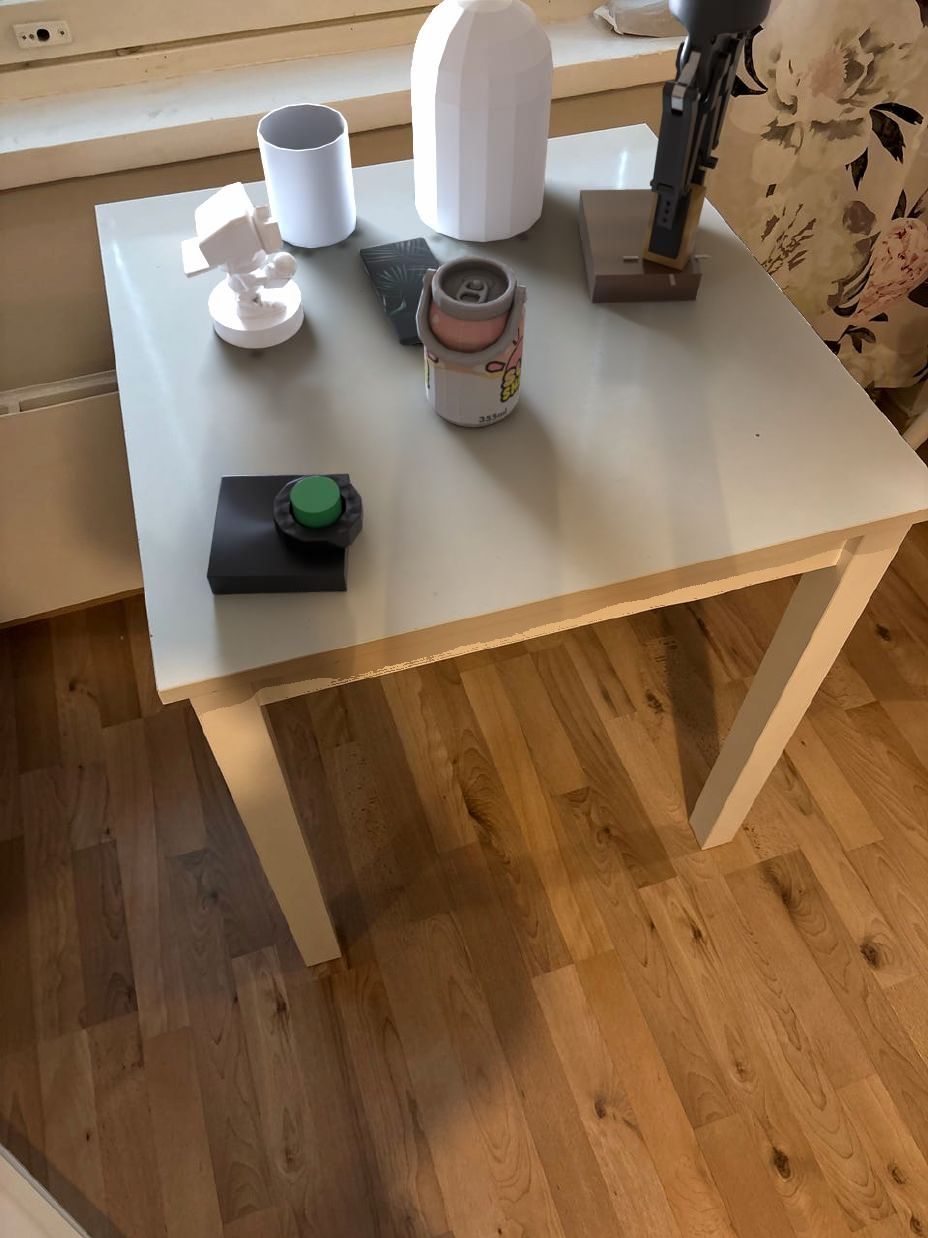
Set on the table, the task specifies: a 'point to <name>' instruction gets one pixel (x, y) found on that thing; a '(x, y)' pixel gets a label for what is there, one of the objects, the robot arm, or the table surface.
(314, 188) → the cup
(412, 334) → the smartphone
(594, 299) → the plate
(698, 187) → the tan wooden block
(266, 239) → the character figurine
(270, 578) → the box
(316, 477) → the open button
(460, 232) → the container
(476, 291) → the beverage can
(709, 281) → the table surface
